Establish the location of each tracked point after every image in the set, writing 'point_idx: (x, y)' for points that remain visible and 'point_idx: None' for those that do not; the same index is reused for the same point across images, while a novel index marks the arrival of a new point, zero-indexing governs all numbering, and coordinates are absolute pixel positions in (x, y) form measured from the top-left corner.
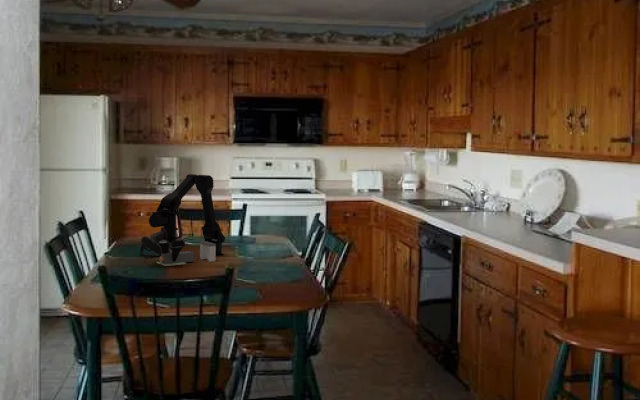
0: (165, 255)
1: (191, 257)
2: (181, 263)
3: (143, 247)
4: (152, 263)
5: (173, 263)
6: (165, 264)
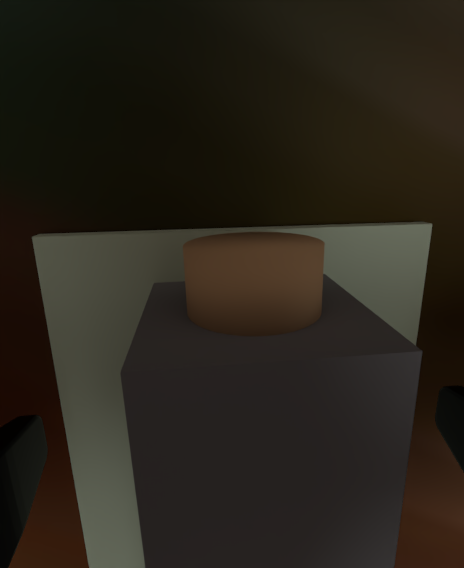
0: (124, 368)
1: None
2: (89, 520)
3: None
4: (414, 128)
5: None
6: (103, 266)
